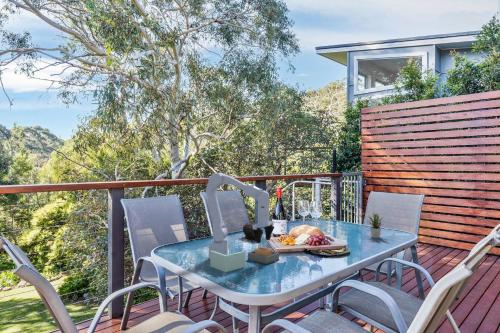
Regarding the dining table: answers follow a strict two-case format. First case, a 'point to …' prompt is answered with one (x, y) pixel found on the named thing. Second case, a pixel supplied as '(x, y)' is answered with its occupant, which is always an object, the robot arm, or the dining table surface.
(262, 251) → the small crate
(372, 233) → the house plant
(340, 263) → the dining table surface
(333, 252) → the food plate
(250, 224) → the pine cone
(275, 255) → the big crate
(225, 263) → the l-shaped corner panel
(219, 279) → the dining table surface
